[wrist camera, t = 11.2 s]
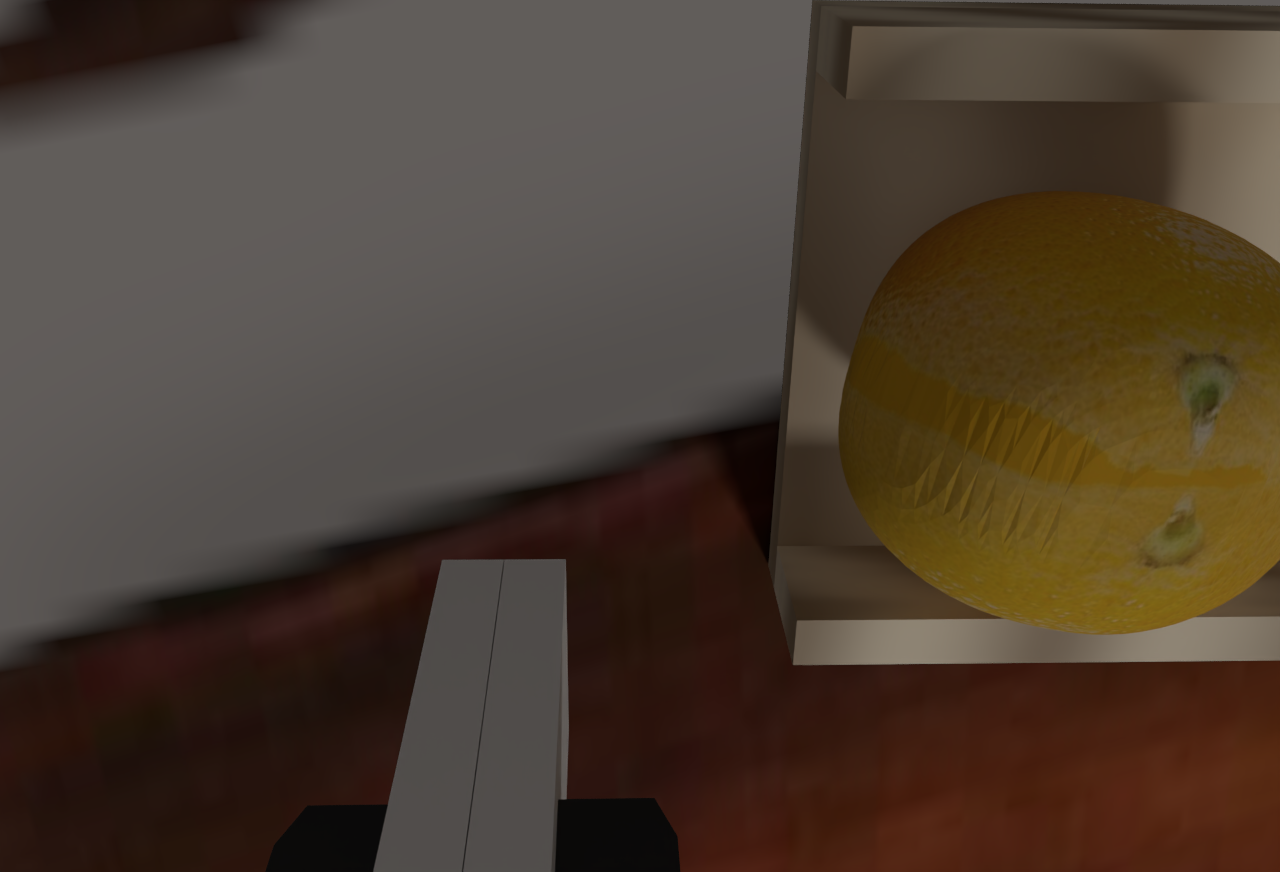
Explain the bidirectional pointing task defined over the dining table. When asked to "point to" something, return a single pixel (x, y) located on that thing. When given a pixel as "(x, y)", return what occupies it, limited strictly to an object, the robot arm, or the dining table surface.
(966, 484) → the fruit
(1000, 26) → the channel
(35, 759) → the dining table surface
